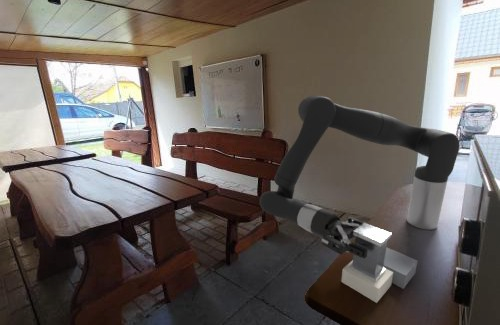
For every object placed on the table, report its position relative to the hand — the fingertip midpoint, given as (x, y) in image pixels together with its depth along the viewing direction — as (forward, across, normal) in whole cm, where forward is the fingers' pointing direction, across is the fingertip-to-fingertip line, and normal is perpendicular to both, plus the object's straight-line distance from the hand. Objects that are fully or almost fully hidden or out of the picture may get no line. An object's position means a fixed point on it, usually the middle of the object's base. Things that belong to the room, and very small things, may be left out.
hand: (375, 246), depth 62 cm
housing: (-1, 0, +8) cm, 8 cm away
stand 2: (+2, +9, +12) cm, 15 cm away
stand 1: (-1, 0, +12) cm, 12 cm away
